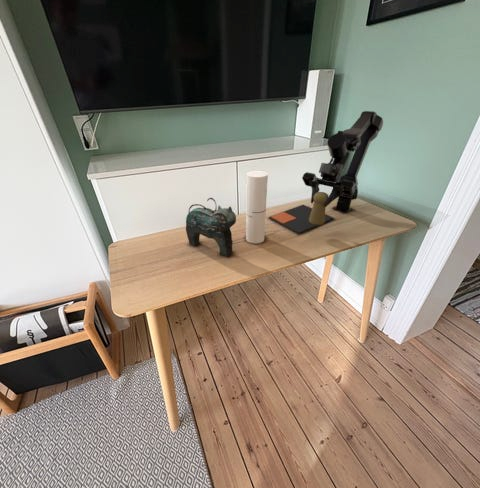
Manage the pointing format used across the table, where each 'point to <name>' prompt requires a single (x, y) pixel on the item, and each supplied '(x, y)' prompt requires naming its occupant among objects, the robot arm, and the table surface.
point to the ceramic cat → (211, 226)
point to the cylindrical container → (256, 205)
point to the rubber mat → (297, 219)
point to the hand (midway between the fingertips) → (318, 204)
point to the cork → (318, 208)
